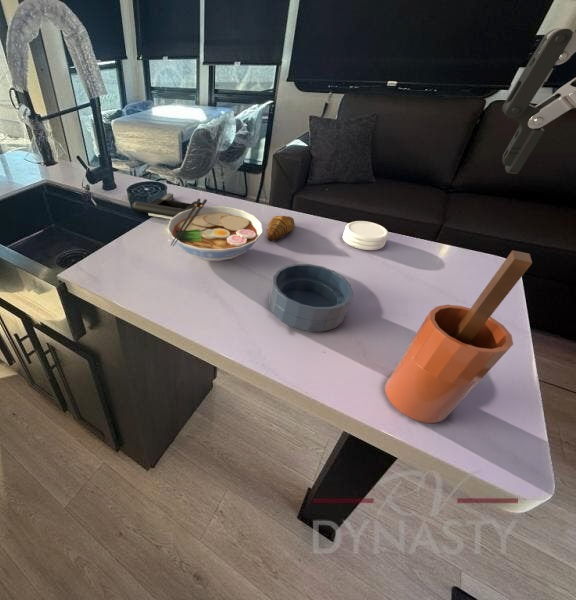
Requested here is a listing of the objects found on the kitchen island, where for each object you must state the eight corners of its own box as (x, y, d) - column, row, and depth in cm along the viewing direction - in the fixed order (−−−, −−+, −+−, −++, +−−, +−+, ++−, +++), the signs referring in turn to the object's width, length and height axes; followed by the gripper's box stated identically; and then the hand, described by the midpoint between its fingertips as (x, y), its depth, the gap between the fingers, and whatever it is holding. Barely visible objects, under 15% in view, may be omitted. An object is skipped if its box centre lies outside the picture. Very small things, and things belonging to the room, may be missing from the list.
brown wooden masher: (466, 354, 44) (549, 251, 34) (467, 379, 41) (558, 274, 31) (425, 340, 46) (491, 240, 36) (422, 363, 43) (494, 260, 33)
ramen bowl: (249, 288, 71) (253, 256, 66) (152, 270, 78) (149, 239, 72) (266, 235, 89) (270, 206, 84) (186, 224, 96) (186, 197, 90)
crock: (448, 390, 50) (509, 318, 41) (447, 433, 45) (516, 363, 35) (388, 368, 54) (431, 297, 44) (381, 405, 48) (427, 334, 39)
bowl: (350, 300, 67) (359, 276, 63) (333, 344, 58) (343, 320, 54) (282, 279, 73) (287, 256, 70) (257, 316, 64) (261, 292, 60)
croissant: (278, 220, 96) (281, 204, 93) (301, 226, 92) (305, 209, 89) (257, 239, 88) (259, 222, 84) (281, 246, 84) (284, 229, 81)
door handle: (153, 188, 111) (128, 204, 100) (208, 196, 105) (189, 214, 93) (153, 198, 113) (129, 214, 102) (208, 206, 107) (189, 225, 95)
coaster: (333, 236, 88) (337, 223, 85) (364, 229, 90) (368, 217, 88) (361, 254, 80) (365, 241, 78) (393, 246, 83) (399, 234, 80)
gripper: (628, -98, 19) (476, 179, 30) (1129, -168, 13) (720, 210, 24) (589, -74, 24) (470, 156, 34) (943, -117, 18) (671, 177, 28)
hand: (572, 178), depth 29 cm, fingers open, 8 cm apart
